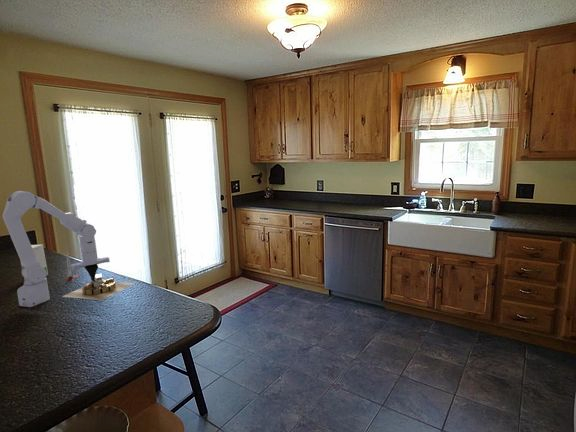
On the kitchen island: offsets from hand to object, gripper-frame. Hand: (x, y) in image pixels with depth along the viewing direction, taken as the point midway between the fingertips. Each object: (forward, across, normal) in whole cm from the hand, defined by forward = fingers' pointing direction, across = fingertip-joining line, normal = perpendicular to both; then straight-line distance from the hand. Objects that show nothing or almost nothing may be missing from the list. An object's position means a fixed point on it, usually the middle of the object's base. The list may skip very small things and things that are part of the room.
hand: (93, 281), depth 154 cm
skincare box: (+3, -16, +38) cm, 41 cm away
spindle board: (+3, 0, -8) cm, 9 cm away
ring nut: (+1, 0, -6) cm, 6 cm away
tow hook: (+3, -2, +18) cm, 19 cm away
